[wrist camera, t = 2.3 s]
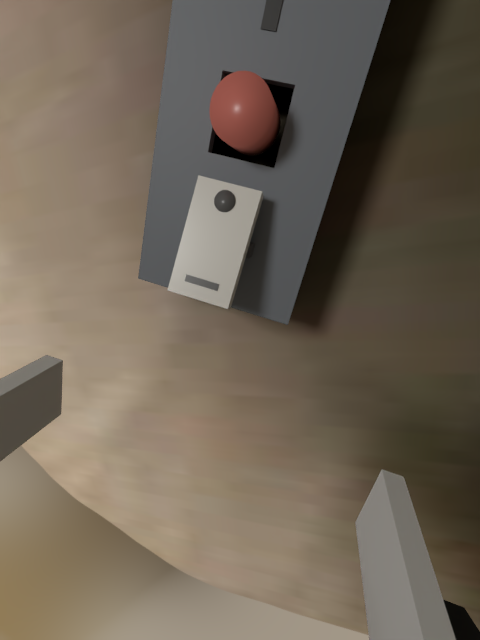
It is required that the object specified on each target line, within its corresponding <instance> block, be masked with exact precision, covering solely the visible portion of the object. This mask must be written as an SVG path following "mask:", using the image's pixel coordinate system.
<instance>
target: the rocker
mask: <svg viewBox="0 0 480 640" xmlns="http://www.w3.org/2000/svg"><path fill="white" fill-rule="evenodd" d="M263 197H264V195H263V192H262V191H259V190H255V189H251V188H247V187H243V186H239V185H235V184H231V183H227V182H223V181H219V180H215V179H211V178H207V177H203V176H200V175H198V179H197V182H196V186H195V190H194V194H193V197H192V201H191V205H190V208H189V212H188V216H187V220H186V223H185V227H184V231H183V234H182V238H181V242H180V245H179V249H178V253H177V257H176V260H175V264H174V268H173V271H172V275H171V279H170V283H169V286H168V291H172V292H175V293H178V294H181V295H184V296H188V297H191V298H194V299H197V300H200V301H204V302H207V303H210V304H213V305H216V306H220V307H223V308H226V309H231V305H232V302H233V299H234V295H235V292H236V288H237V285H238V282H239V278H240V275H241V271H242V268H243V265H244V261H245V258H246V254H247V251H248V248H249V244H250V241H251V237H252V234H253V231H254V227H255V224H256V220H257V217H258V214H259V210H260V207H261V203H262V200H263Z"/></svg>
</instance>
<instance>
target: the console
mask: <svg viewBox="0 0 480 640" xmlns="http://www.w3.org/2000/svg"><path fill="white" fill-rule="evenodd" d="M390 1H391V0H173V3H172V11H171V19H170V27H169V35H168V43H167V51H166V59H165V67H164V75H163V83H162V91H161V99H160V107H159V115H158V124H157V132H156V140H155V148H154V156H153V164H152V172H151V180H150V188H149V196H148V204H147V212H146V220H145V228H144V236H143V244H142V253H141V261H140V269H139V277H138V278H139V279H142V280H145V281H148V282H151V283H155V284H158V285H161V286H164V287H167V288H168V286H169V283H170V279H171V275H172V271H173V268H174V264H175V260H176V257H177V253H178V249H179V245H180V242H181V238H182V234H183V231H184V227H185V223H186V220H187V216H188V212H189V208H190V205H191V201H192V197H193V194H194V190H195V186H196V182H197V179H198V175H200V176H203V177H207V178H211V179H215V180H219V181H223V182H227V183H231V184H235V185H239V186H243V187H247V188H251V189H255V190H259V191H262V192H263V195H264V197H263V200H262V203H261V207H260V210H259V214H258V217H257V220H256V224H255V227H254V231H253V234H252V237H251V241H250V244H249V248H248V251H247V254H246V258H245V261H244V265H243V268H242V271H241V275H240V278H239V282H238V285H237V288H236V292H235V295H234V299H233V302H232V305H231V307H232V308H235V309H238V310H241V311H245V312H248V313H251V314H254V315H257V316H261V317H264V318H267V319H270V320H273V321H277V322H280V323H283V324H286V325H288V322H289V319H290V316H291V313H292V310H293V307H294V304H295V300H296V297H297V294H298V291H299V288H300V285H301V281H302V278H303V275H304V272H305V269H306V266H307V263H308V259H309V256H310V253H311V250H312V247H313V244H314V240H315V237H316V234H317V231H318V228H319V225H320V221H321V218H322V215H323V212H324V209H325V206H326V203H327V199H328V196H329V193H330V190H331V187H332V184H333V180H334V177H335V174H336V171H337V168H338V165H339V162H340V158H341V155H342V152H343V149H344V146H345V143H346V139H347V136H348V133H349V130H350V127H351V124H352V121H353V117H354V114H355V111H356V108H357V105H358V102H359V98H360V95H361V92H362V89H363V86H364V83H365V79H366V76H367V73H368V70H369V67H370V64H371V61H372V57H373V54H374V51H375V48H376V45H377V42H378V38H379V35H380V32H381V29H382V26H383V23H384V20H385V16H386V13H387V10H388V7H389V4H390ZM237 71H250V72H253V73H255V74H257V75H258V76H260V77H261V78H262V79H263V80H264V81H265V82H266V83H267V84H272V85H277V86H282V87H287V88H292V89H294V92H293V96H292V100H291V104H290V108H289V112H288V116H287V120H286V124H285V128H284V132H283V136H282V140H281V144H280V148H279V152H278V155H277V159H276V163H275V167H274V168H272V167H268V166H264V165H259V164H255V163H251V162H247V161H243V160H239V159H235V158H230V157H226V156H222V155H218V154H214V153H212V149H213V143H214V138H215V131H214V129H213V127H212V124H211V120H210V113H209V112H210V101H211V97H212V95H213V92H214V90H215V88H216V87H217V85H218V84H219V83H220V81H221V80H222V79H223V78H225V77H226V75H229V74H231V73H233V72H237Z"/></svg>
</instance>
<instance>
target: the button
mask: <svg viewBox="0 0 480 640" xmlns="http://www.w3.org/2000/svg"><path fill="white" fill-rule="evenodd" d="M209 113H210V120H211V124H212V127H213V129H214V131H215V132H216V134H217V135H218V136H219V138H220V139H222V140H223V141H224V142H226V143H227V144H228V145H230V146H231V147H233V148H234V149H235V150H237V151H238V152H240V153H242V154H244V155H248V156H255V155H259V154H262V153H264V152H265V151H267V150H268V149H269V148H270V147H271V146H272V145H273V144H274V142H275V141H276V139H277V137H278V134H279V131H280V124H281V121H280V113H279V110H278V108H277V105H276V103H275V101H274V98H273V96H272V94H271V91H270V89H269V87H268V85H267V84H266V82H265V81H264V80H263V79H262V78H261V77H260V76H258V75H257V74H255V73H253V72H250V71H237V72H233V73H231V74H229V75H227V76H226V77H225V78H223V79H222V80H221V81H220V83H219V84H218V85H217V87H216V88H215V90H214V92H213V95H212V97H211V101H210V112H209Z"/></svg>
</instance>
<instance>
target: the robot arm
mask: <svg viewBox="0 0 480 640" xmlns="http://www.w3.org/2000/svg"><path fill="white" fill-rule="evenodd" d="M62 365H63V360H60V359H57V358H54V357H51V356H48V355H46V356H44V357H42V358H40V359H38V360H36V361H34V362H32V363H30V364H28V365H26V366H24V367H23V368H21V369H19V370H17V371H15V372H13V373H11V374H9V375H7V376H5V377H3V378H1V379H0V461H1V460H3V459H4V458H5V457H6V456H8V455H9V454H10V453H12V452H13V451H14V450H15V449H17V448H18V447H19V446H21V445H22V444H23V443H24V442H26V441H27V440H28V439H30V438H31V437H32V436H33V435H35V434H36V433H37V432H39V431H40V430H41V429H42V428H44V427H45V426H46V425H48V424H49V423H50V422H51V421H53V420H54V419H55V418H57V417H58V416H59V415H60V414H61V402H62ZM356 530H357V539H358V547H359V556H360V564H361V573H362V581H363V590H364V598H365V607H366V615H367V624H368V632H369V640H480V632H479V630H478V628H477V627H476V625H475V624H474V622H473V621H472V619H471V618H470V616H469V614H468V613H467V611H466V610H465V608H463V607H461V606H458V605H456V604H453V603H450V602H448V601H445V600H443V598H442V595H441V592H440V589H439V585H438V582H437V579H436V576H435V573H434V570H433V567H432V564H431V560H430V557H429V554H428V551H427V548H426V545H425V542H424V539H423V536H422V532H421V529H420V526H419V523H418V520H417V517H416V514H415V511H414V507H413V504H412V501H411V498H410V495H409V492H408V489H407V486H406V483H405V479H404V477H403V476H400V475H397V474H394V473H391V472H388V471H385V470H381V472H380V474H379V476H378V478H377V480H376V482H375V484H374V486H373V488H372V490H371V492H370V494H369V496H368V498H367V500H366V502H365V504H364V506H363V508H362V510H361V512H360V514H359V516H358V518H357V520H356Z"/></svg>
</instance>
